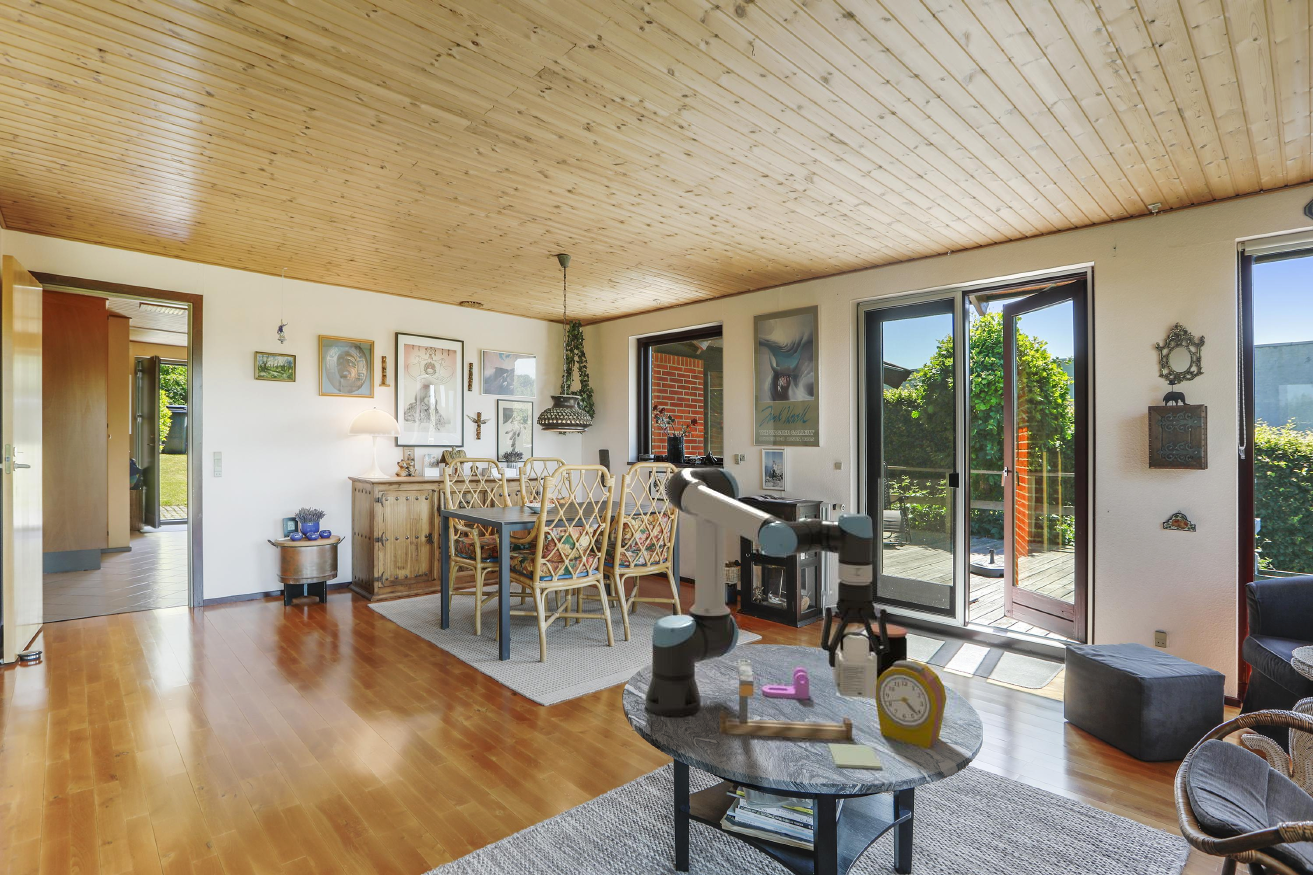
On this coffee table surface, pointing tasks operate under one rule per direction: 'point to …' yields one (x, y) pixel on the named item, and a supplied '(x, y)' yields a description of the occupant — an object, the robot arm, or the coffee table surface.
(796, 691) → the bracket
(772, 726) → the rail
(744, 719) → the grey l-shaped beam
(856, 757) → the pad
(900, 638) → the coffee jar
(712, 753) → the coffee table surface
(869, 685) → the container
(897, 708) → the alarm clock
